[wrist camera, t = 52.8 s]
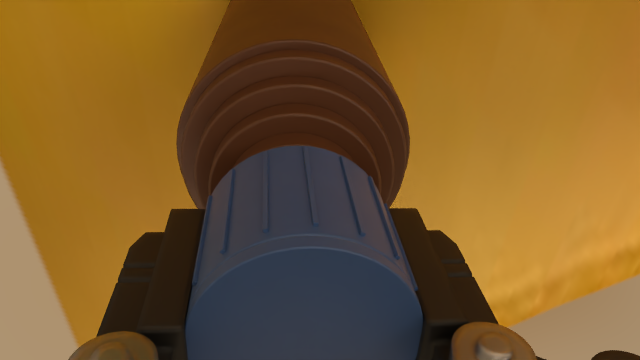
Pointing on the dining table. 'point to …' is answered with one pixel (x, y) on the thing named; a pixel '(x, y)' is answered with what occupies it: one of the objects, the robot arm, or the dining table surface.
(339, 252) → the cap
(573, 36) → the dining table surface
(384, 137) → the sauce bottle
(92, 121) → the dining table surface
